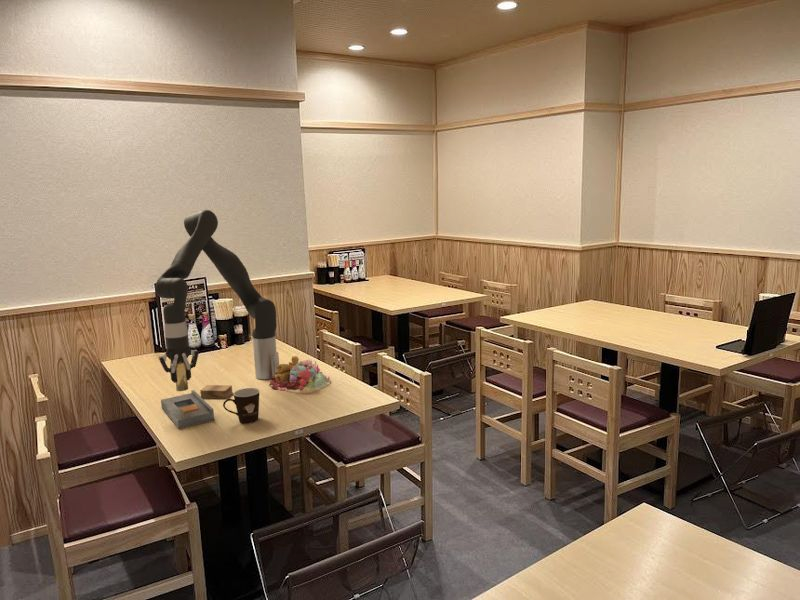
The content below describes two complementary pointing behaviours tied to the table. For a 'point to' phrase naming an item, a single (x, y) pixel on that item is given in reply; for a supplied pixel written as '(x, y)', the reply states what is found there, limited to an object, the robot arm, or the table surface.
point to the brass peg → (181, 377)
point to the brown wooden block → (216, 391)
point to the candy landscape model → (299, 377)
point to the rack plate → (187, 410)
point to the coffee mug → (246, 405)
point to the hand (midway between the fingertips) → (181, 380)
